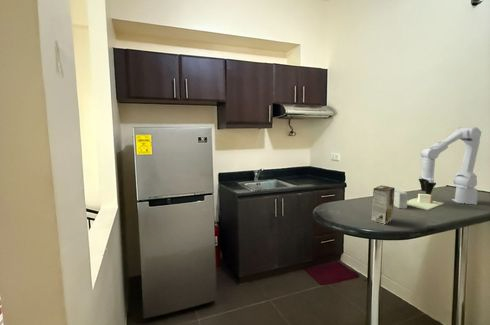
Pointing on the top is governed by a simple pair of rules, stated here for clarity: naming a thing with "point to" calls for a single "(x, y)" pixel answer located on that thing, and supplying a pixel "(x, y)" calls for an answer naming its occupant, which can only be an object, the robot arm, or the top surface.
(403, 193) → the medicine box
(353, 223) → the top surface
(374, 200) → the coffee box
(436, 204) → the sage mat
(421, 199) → the card deck
